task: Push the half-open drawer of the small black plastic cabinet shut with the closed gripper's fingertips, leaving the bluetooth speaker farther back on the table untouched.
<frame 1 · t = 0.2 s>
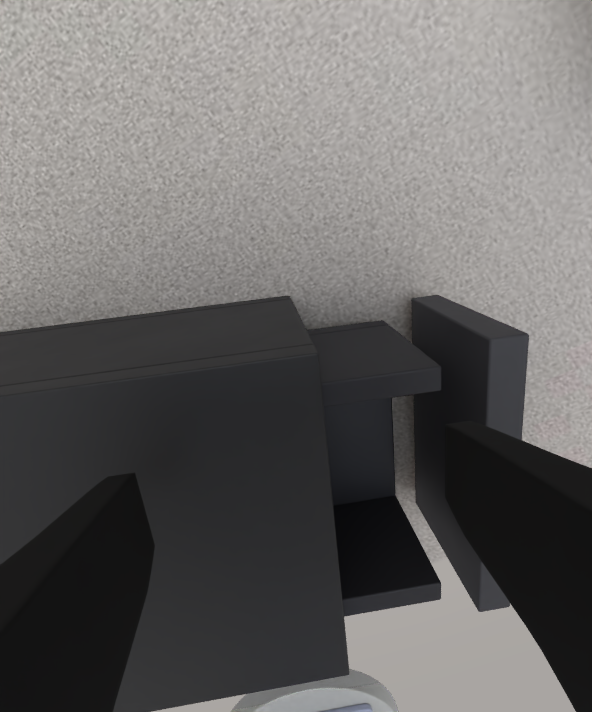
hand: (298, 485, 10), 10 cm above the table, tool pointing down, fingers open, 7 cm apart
cabinet: (169, 435, 20), on the table
drawer: (343, 458, 17), point 4 cm above the table, slide at 5.0 cm
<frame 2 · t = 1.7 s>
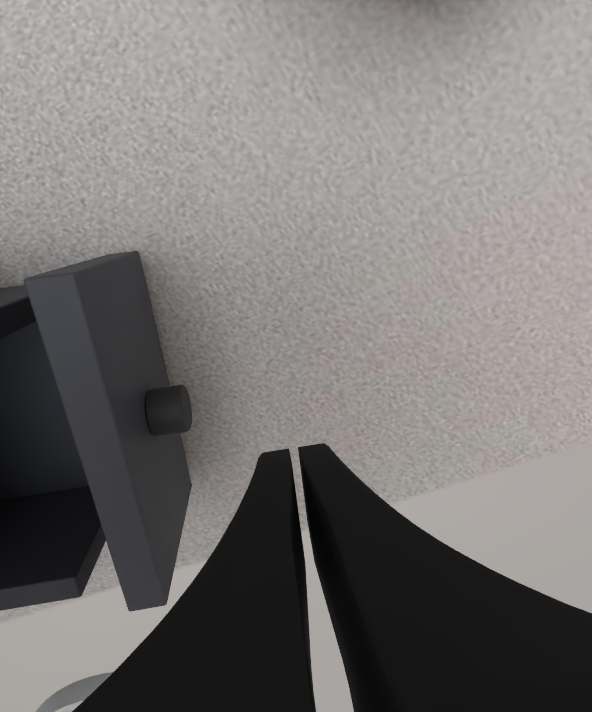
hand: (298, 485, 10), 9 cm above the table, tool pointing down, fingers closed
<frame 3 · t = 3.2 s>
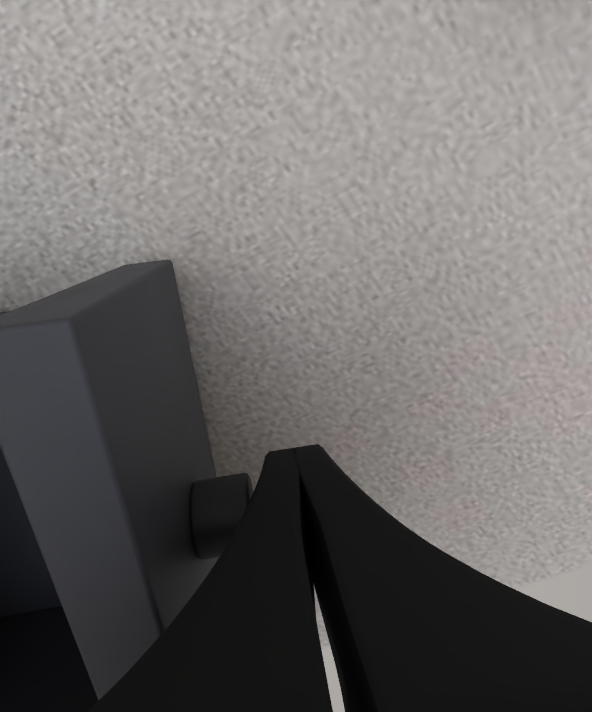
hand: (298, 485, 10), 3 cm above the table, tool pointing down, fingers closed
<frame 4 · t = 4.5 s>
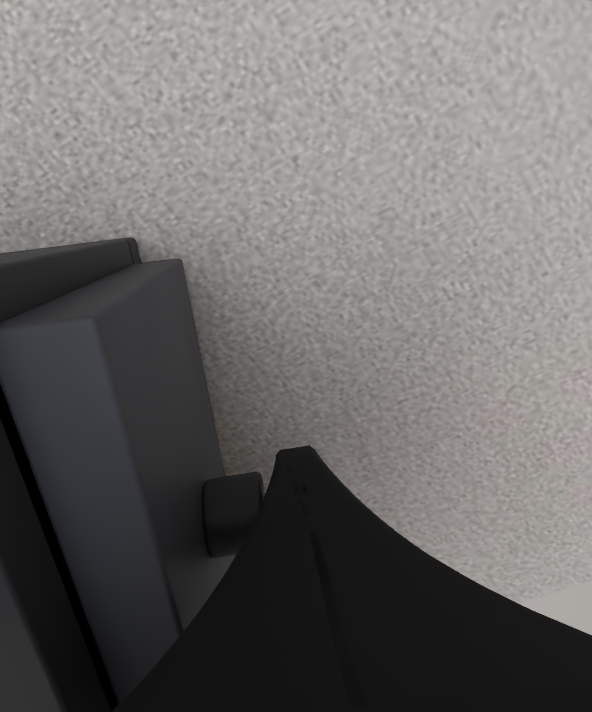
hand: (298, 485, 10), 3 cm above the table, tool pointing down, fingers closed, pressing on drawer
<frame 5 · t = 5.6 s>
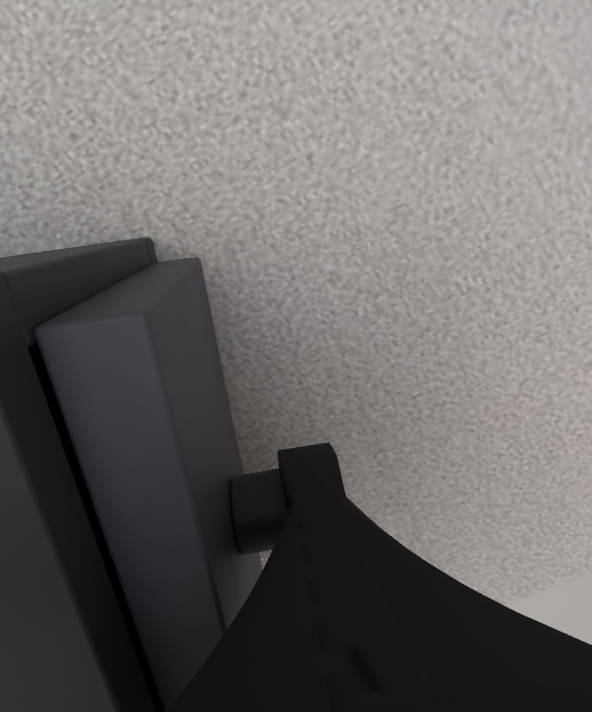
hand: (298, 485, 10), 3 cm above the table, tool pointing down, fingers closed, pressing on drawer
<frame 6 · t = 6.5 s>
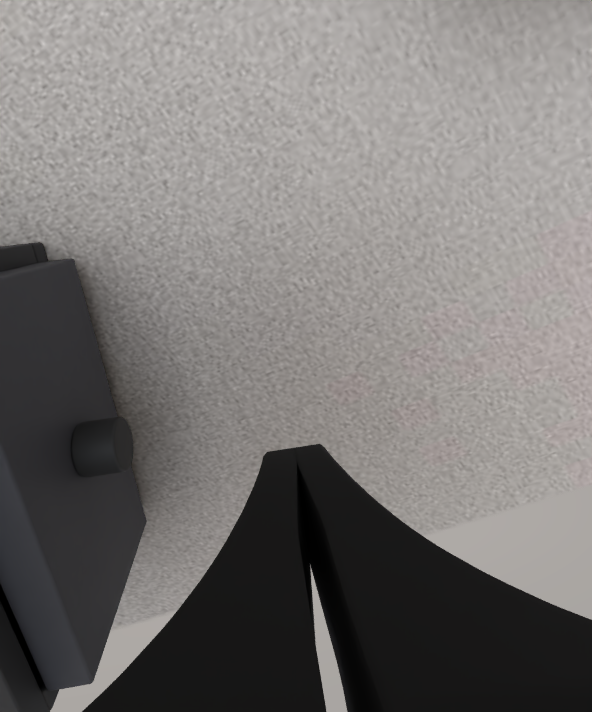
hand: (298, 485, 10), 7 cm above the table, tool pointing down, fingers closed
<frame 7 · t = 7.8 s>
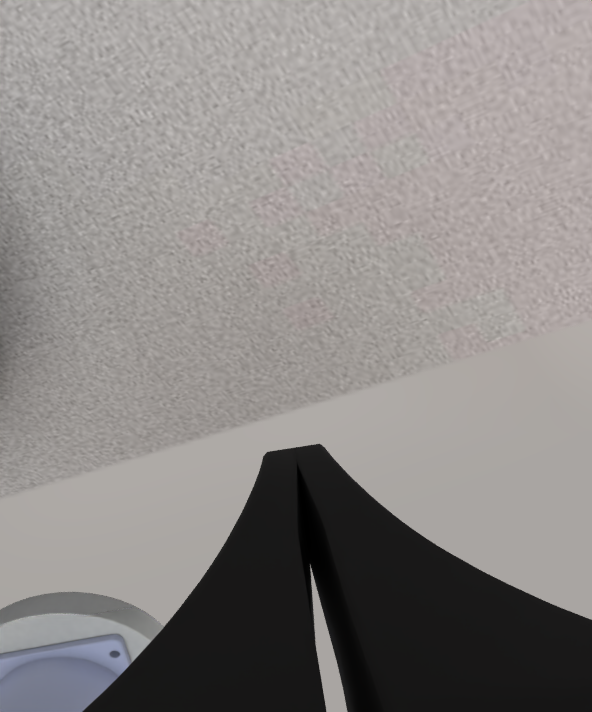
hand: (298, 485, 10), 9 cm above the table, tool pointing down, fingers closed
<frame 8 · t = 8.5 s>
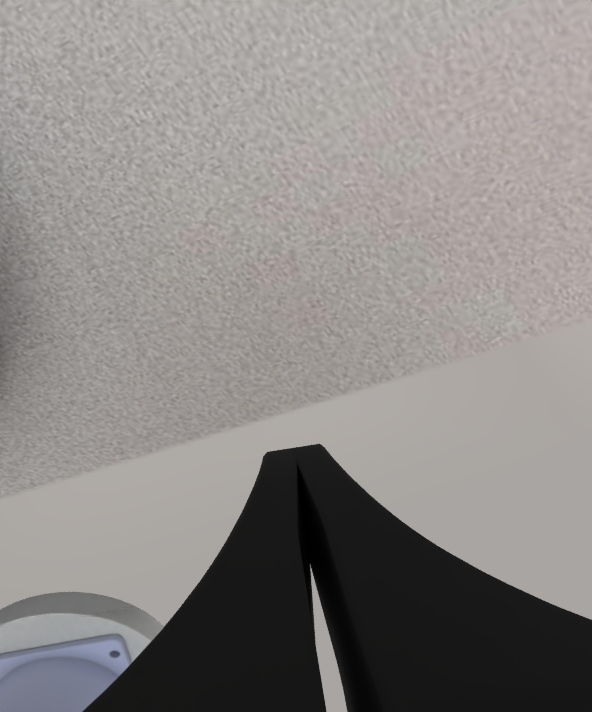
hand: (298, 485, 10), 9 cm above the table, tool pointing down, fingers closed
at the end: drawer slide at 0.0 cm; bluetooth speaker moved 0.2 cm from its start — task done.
